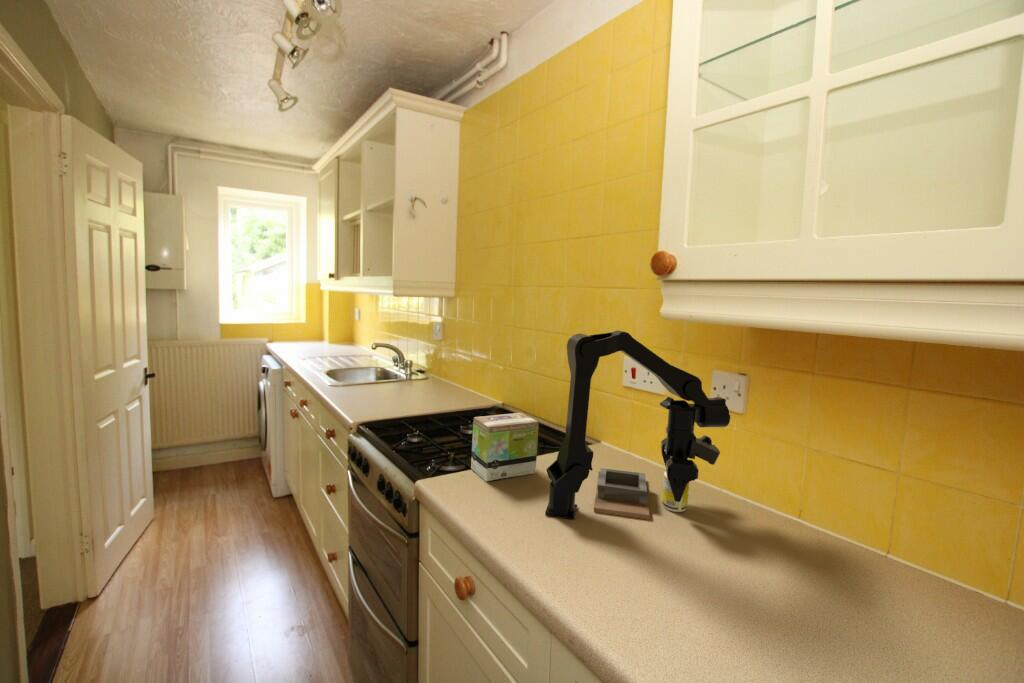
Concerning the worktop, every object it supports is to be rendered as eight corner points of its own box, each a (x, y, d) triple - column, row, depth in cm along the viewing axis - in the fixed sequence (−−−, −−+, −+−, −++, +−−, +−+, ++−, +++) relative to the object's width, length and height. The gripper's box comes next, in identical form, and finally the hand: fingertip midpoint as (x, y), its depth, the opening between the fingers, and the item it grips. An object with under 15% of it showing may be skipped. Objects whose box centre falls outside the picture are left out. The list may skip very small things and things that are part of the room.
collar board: (649, 519, 102) (650, 502, 102) (593, 511, 105) (594, 494, 105) (644, 480, 124) (645, 465, 123) (598, 474, 126) (599, 460, 126)
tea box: (486, 483, 118) (488, 426, 117) (470, 469, 127) (471, 416, 125) (537, 473, 126) (539, 420, 124) (518, 461, 134) (520, 410, 133)
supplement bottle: (682, 502, 112) (685, 461, 110) (690, 513, 106) (694, 470, 105) (658, 501, 112) (661, 460, 110) (665, 512, 106) (669, 469, 105)
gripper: (727, 444, 96) (720, 516, 98) (711, 419, 114) (705, 481, 116) (670, 438, 98) (664, 508, 100) (663, 415, 116) (658, 475, 118)
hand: (675, 492), depth 108 cm, fingers open, 9 cm apart
